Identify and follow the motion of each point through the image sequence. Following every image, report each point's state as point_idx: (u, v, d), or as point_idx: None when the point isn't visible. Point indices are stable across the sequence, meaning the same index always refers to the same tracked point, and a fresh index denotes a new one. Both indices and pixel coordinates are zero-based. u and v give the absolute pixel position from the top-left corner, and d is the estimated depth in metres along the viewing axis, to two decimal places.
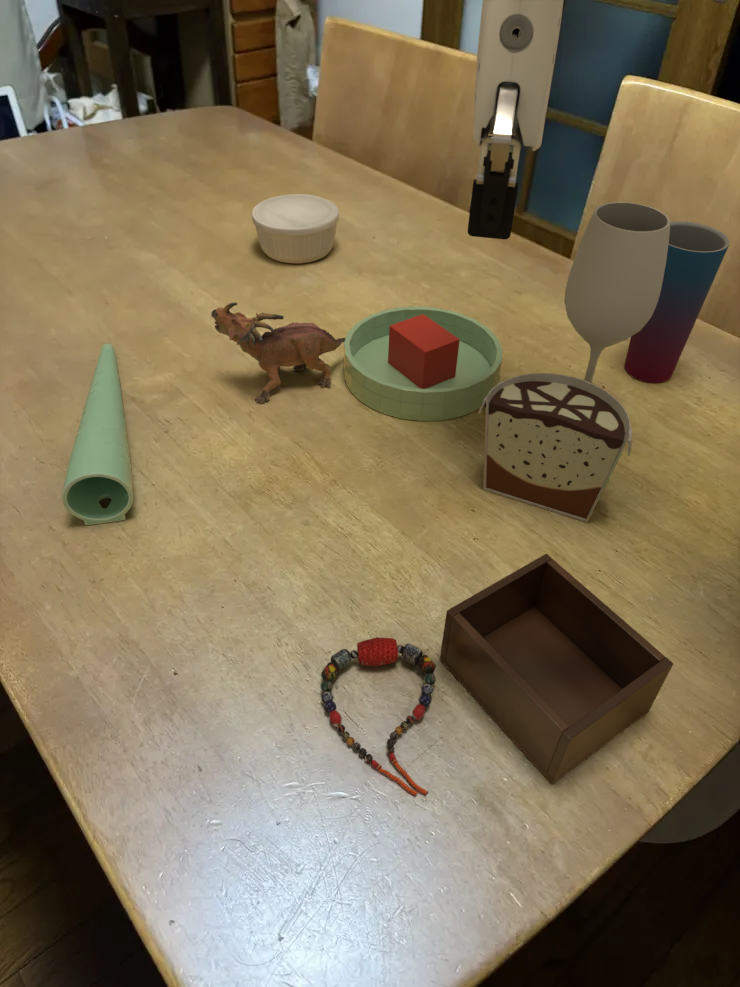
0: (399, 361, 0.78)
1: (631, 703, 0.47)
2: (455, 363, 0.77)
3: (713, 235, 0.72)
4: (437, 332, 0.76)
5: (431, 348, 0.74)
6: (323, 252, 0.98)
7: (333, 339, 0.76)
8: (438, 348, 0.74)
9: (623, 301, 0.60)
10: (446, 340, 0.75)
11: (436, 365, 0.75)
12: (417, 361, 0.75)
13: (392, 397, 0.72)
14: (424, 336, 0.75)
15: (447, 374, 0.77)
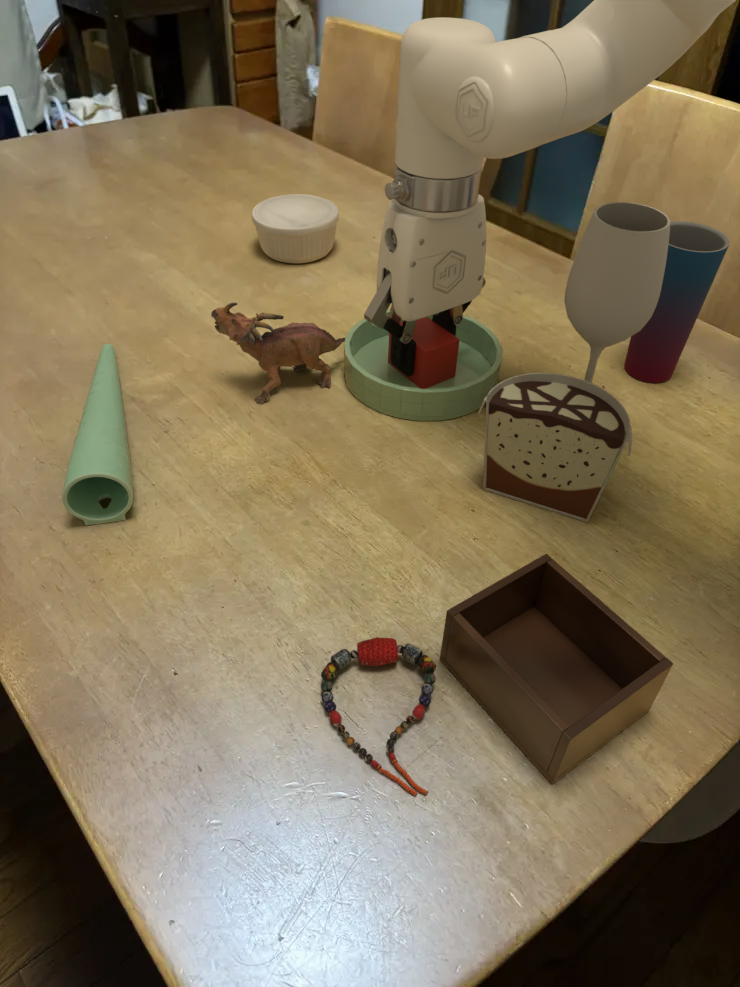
0: None
1: (631, 703, 0.47)
2: (455, 363, 0.77)
3: (713, 235, 0.72)
4: (437, 332, 0.76)
5: (431, 348, 0.74)
6: (323, 252, 0.98)
7: (333, 339, 0.76)
8: (438, 348, 0.74)
9: (623, 301, 0.60)
10: (446, 340, 0.75)
11: (436, 365, 0.75)
12: (417, 361, 0.75)
13: (392, 397, 0.72)
14: (424, 336, 0.75)
15: (447, 374, 0.77)
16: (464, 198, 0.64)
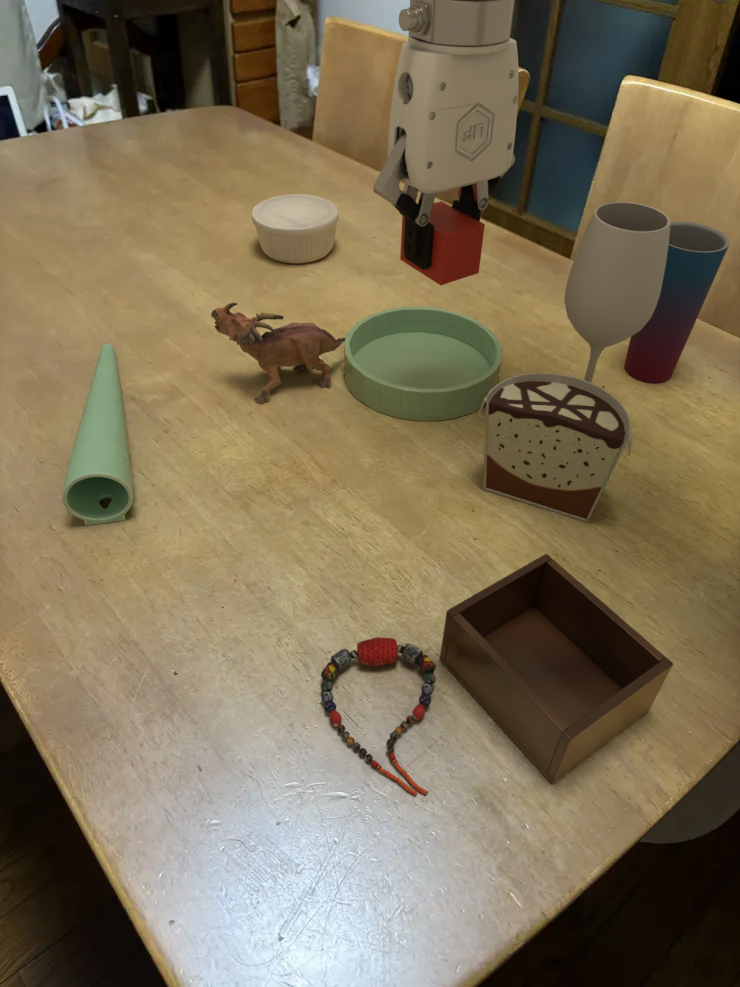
0: None
1: (631, 703, 0.47)
2: (479, 255, 0.66)
3: (713, 235, 0.72)
4: (458, 217, 0.65)
5: (452, 232, 0.63)
6: (323, 252, 0.98)
7: (333, 339, 0.76)
8: (460, 233, 0.63)
9: (623, 301, 0.60)
10: (469, 225, 0.64)
11: (457, 255, 0.65)
12: (434, 250, 0.64)
13: (392, 397, 0.72)
14: (444, 221, 0.65)
15: (469, 268, 0.66)
16: (494, 29, 0.53)
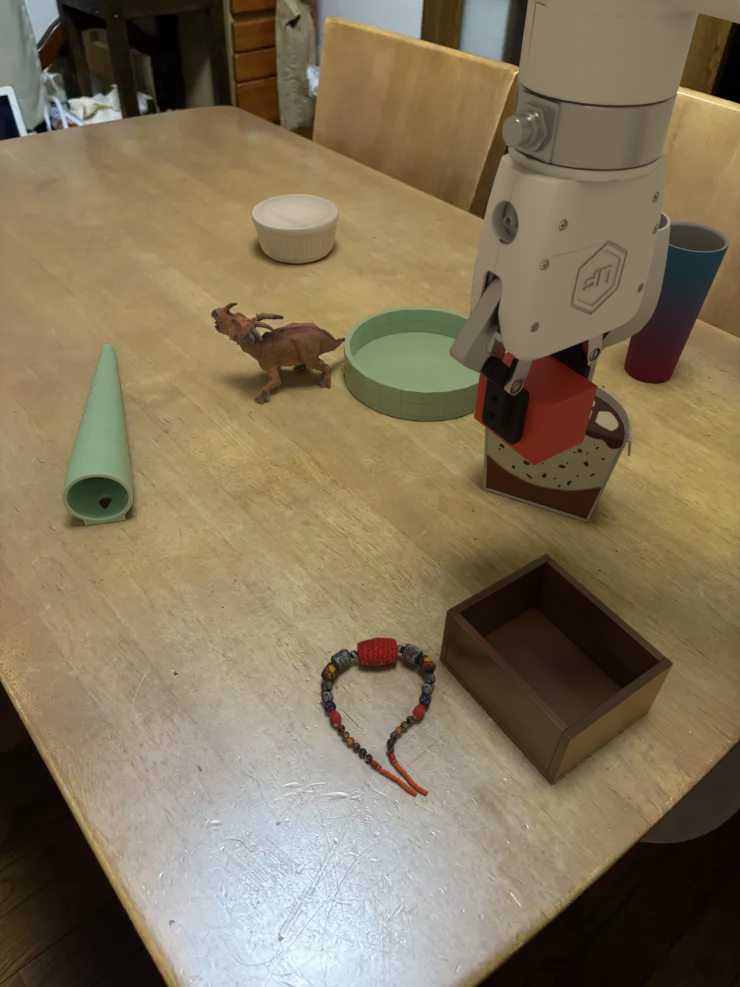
0: None
1: (631, 703, 0.47)
2: (586, 422, 0.48)
3: (713, 235, 0.72)
4: (559, 374, 0.47)
5: (555, 401, 0.45)
6: (323, 252, 0.98)
7: (333, 339, 0.76)
8: (566, 401, 0.45)
9: None
10: (577, 388, 0.46)
11: (559, 428, 0.47)
12: (528, 422, 0.46)
13: (392, 397, 0.72)
14: (540, 380, 0.47)
15: (572, 440, 0.48)
16: (647, 144, 0.35)
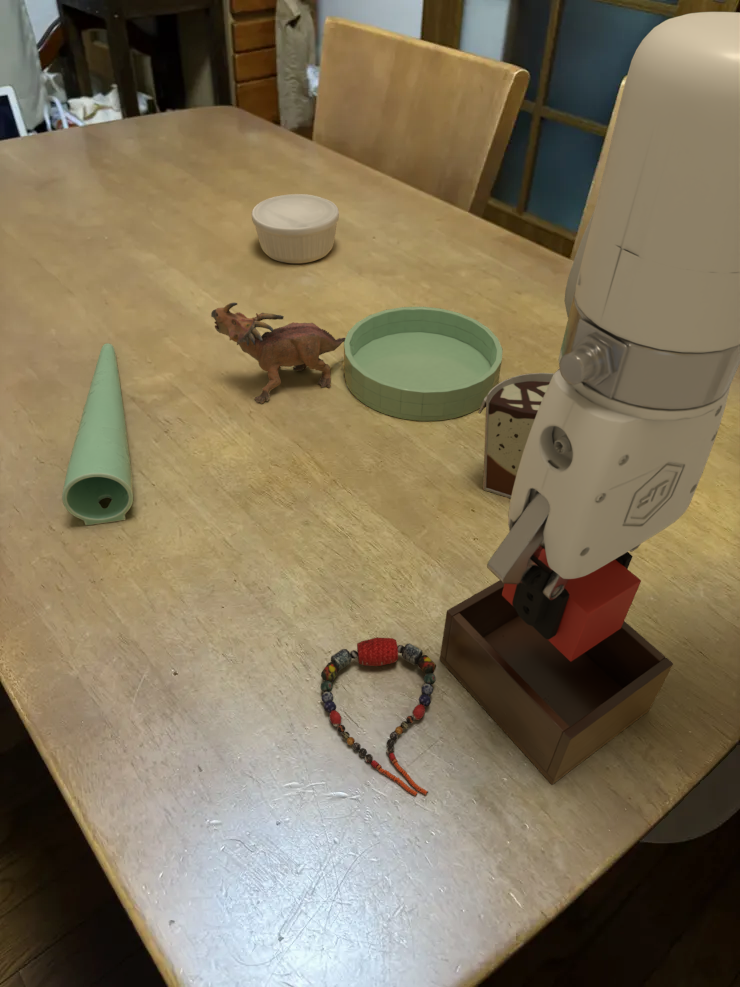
0: None
1: (631, 703, 0.47)
2: (626, 612, 0.45)
3: None
4: None
5: (597, 604, 0.41)
6: (323, 252, 0.98)
7: (333, 339, 0.76)
8: (609, 602, 0.42)
9: None
10: (619, 584, 0.42)
11: (599, 625, 0.43)
12: (566, 620, 0.43)
13: (392, 397, 0.72)
14: None
15: (611, 630, 0.45)
16: (722, 383, 0.31)
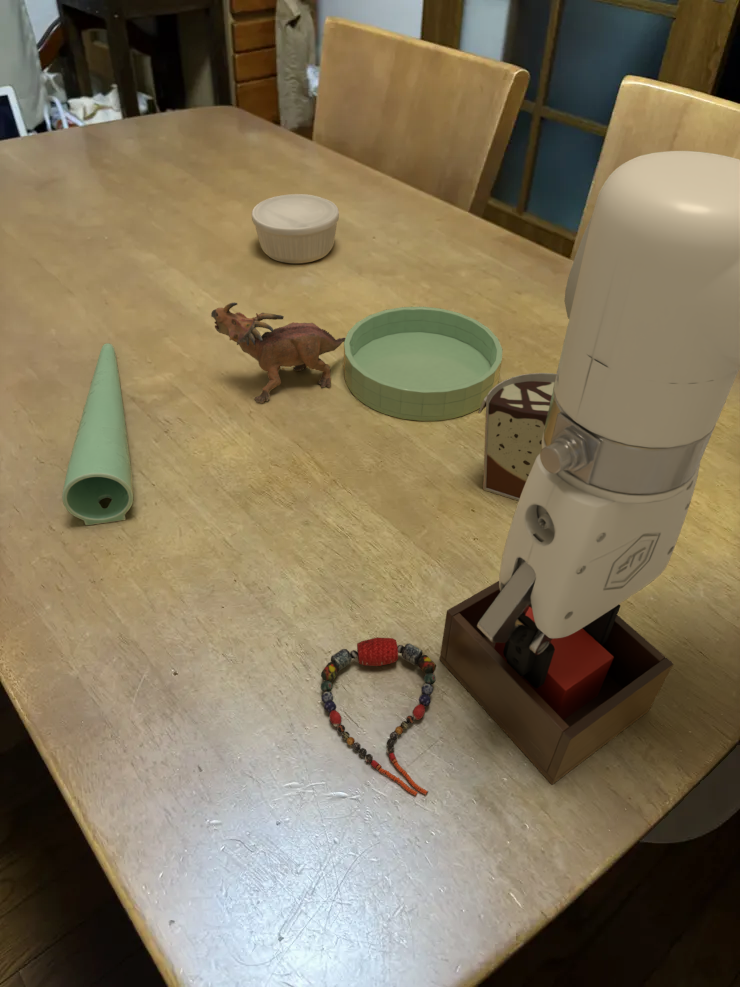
0: None
1: (631, 703, 0.47)
2: (601, 682, 0.50)
3: None
4: (576, 640, 0.49)
5: (573, 680, 0.46)
6: (323, 252, 0.98)
7: (333, 339, 0.76)
8: (584, 678, 0.47)
9: None
10: (594, 660, 0.47)
11: (576, 696, 0.48)
12: (546, 692, 0.48)
13: (392, 397, 0.72)
14: (558, 650, 0.48)
15: (588, 698, 0.50)
16: (688, 469, 0.34)
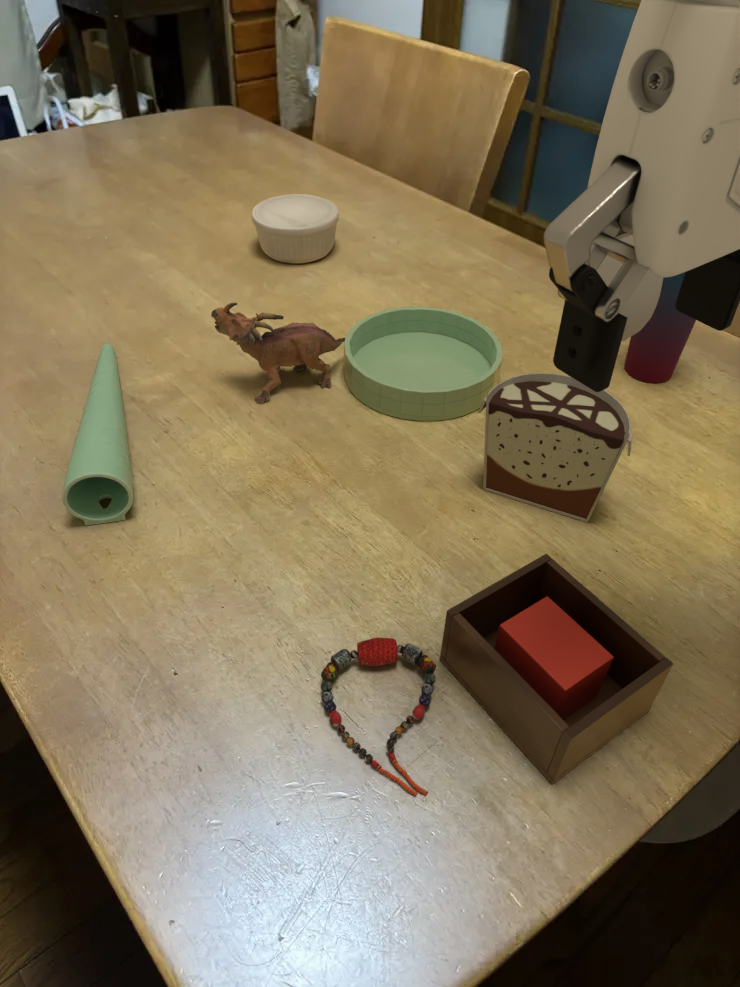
0: None
1: (631, 703, 0.47)
2: (601, 682, 0.50)
3: None
4: (576, 640, 0.49)
5: (573, 680, 0.46)
6: (323, 252, 0.98)
7: (333, 339, 0.76)
8: (584, 678, 0.47)
9: None
10: (594, 660, 0.47)
11: (576, 696, 0.48)
12: (546, 692, 0.48)
13: (392, 397, 0.72)
14: (558, 650, 0.48)
15: (588, 698, 0.50)
16: None
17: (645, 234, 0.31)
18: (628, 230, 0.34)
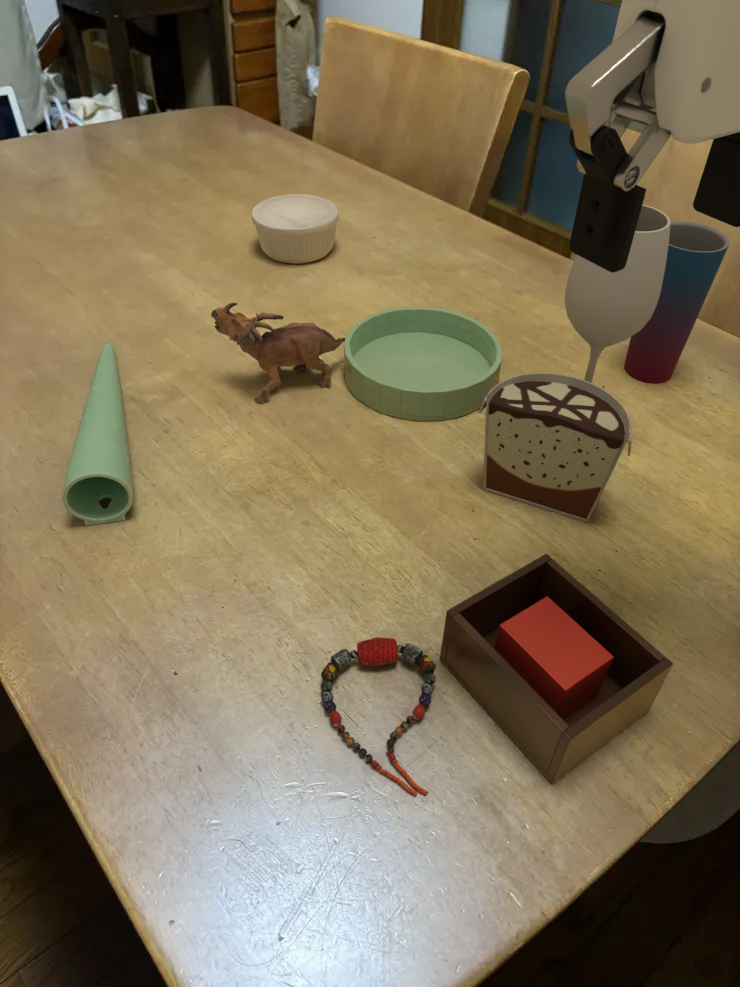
0: None
1: (631, 703, 0.47)
2: (601, 682, 0.50)
3: (713, 235, 0.72)
4: (576, 640, 0.49)
5: (573, 680, 0.46)
6: (323, 252, 0.98)
7: (333, 339, 0.76)
8: (584, 678, 0.47)
9: (624, 301, 0.60)
10: (594, 660, 0.47)
11: (576, 696, 0.48)
12: (546, 692, 0.48)
13: (392, 397, 0.72)
14: (558, 650, 0.48)
15: (588, 698, 0.50)
16: None
17: (667, 93, 0.31)
18: (650, 101, 0.33)
